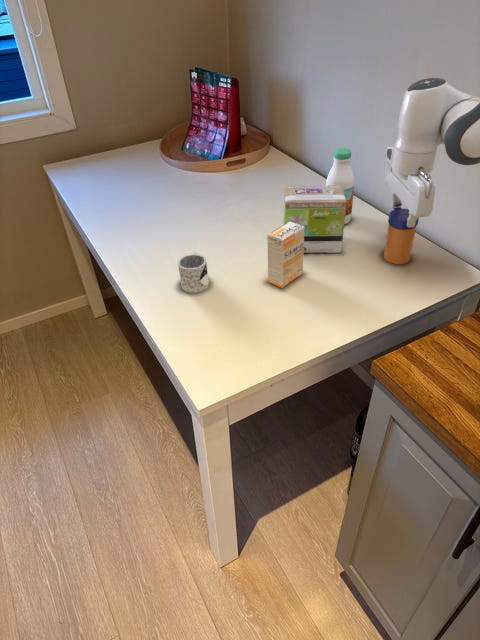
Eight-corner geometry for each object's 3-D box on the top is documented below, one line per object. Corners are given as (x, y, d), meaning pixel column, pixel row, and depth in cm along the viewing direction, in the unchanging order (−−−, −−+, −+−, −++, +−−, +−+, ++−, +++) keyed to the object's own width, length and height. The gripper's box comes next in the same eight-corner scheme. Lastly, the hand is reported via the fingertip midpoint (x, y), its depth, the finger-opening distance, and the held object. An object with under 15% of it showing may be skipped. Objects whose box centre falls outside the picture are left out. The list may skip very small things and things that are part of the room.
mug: (207, 292, 115) (205, 268, 111) (180, 293, 115) (176, 269, 111) (210, 269, 123) (208, 246, 119) (184, 270, 123) (181, 247, 119)
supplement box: (282, 289, 114) (283, 240, 106) (267, 282, 117) (266, 234, 109) (304, 274, 119) (305, 226, 111) (288, 267, 121) (289, 220, 113)
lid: (414, 216, 119) (415, 208, 117) (420, 229, 113) (422, 221, 112) (385, 216, 119) (387, 208, 118) (390, 229, 114) (392, 221, 113)
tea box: (283, 254, 126) (284, 202, 117) (283, 235, 134) (283, 185, 125) (342, 253, 125) (347, 200, 116) (338, 234, 133) (342, 183, 124)
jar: (407, 250, 125) (414, 210, 118) (412, 264, 120) (420, 222, 113) (381, 251, 125) (387, 210, 118) (385, 264, 120) (392, 223, 113)
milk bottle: (332, 228, 136) (337, 157, 124) (319, 217, 142) (322, 148, 129) (356, 222, 138) (363, 152, 125) (342, 211, 144) (347, 143, 131)
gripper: (447, 177, 99) (433, 237, 108) (409, 143, 115) (400, 198, 123) (417, 179, 99) (406, 239, 107) (383, 145, 114) (376, 200, 123)
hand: (402, 217), depth 115 cm, fingers open, 7 cm apart
